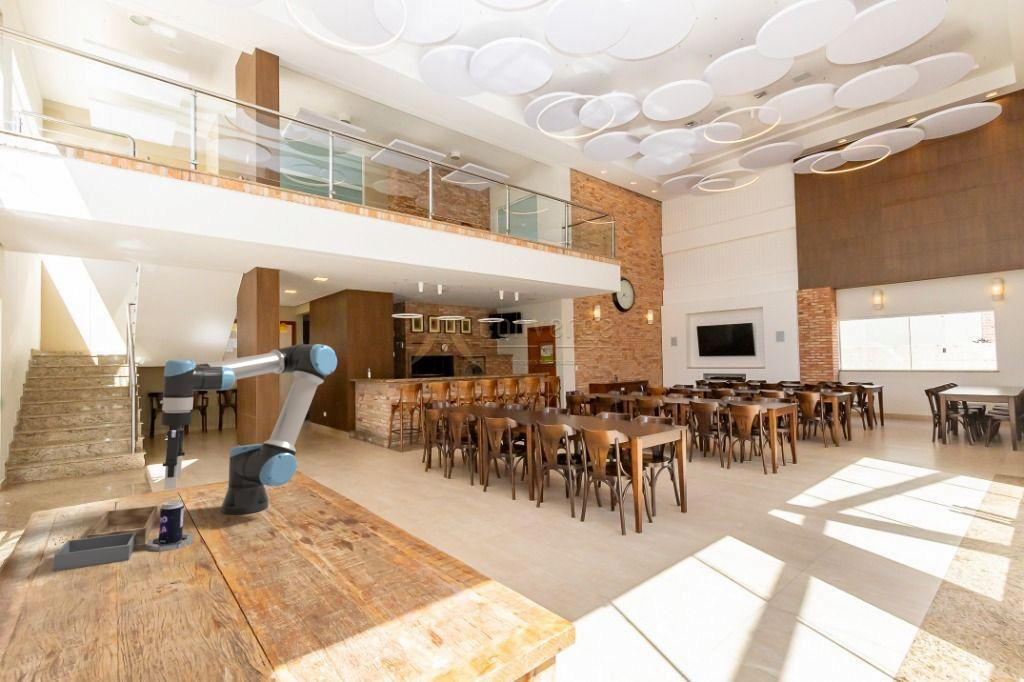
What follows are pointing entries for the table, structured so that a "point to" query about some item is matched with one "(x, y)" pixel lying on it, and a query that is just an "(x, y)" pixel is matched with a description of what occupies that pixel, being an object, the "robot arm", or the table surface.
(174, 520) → the beverage can
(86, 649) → the table surface
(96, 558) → the bus tray
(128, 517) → the parts crate
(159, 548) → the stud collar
